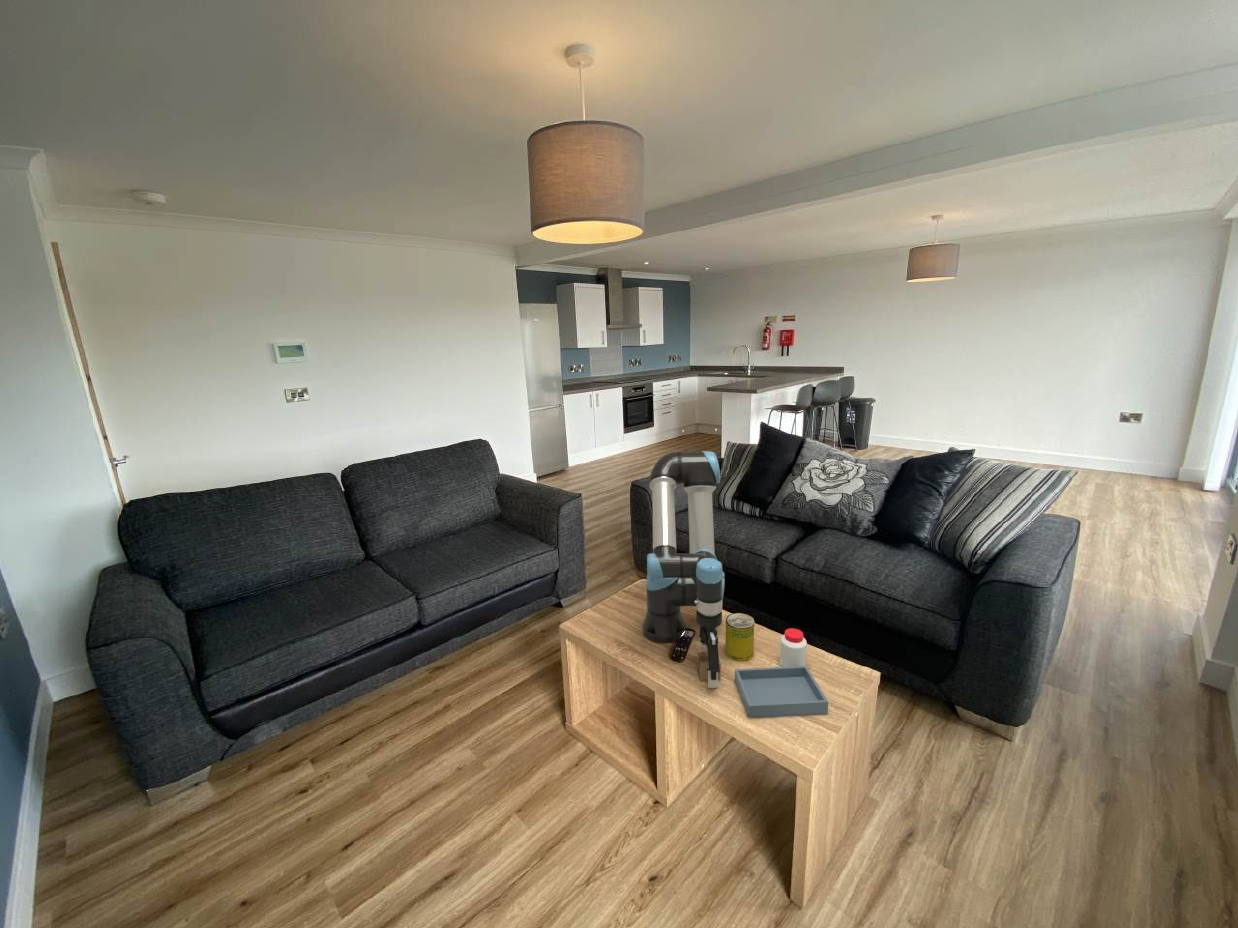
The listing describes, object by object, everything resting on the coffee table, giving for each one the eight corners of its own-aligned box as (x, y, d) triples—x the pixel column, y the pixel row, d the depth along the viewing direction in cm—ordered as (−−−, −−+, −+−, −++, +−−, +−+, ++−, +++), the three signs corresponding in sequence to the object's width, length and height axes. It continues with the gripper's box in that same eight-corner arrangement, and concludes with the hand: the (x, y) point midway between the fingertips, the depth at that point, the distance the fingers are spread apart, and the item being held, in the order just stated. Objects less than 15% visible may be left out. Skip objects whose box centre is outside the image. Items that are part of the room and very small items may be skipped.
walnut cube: (697, 669, 159) (697, 652, 158) (716, 668, 159) (716, 651, 158) (700, 681, 153) (700, 664, 152) (720, 680, 154) (720, 663, 152)
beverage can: (759, 657, 164) (760, 623, 161) (735, 664, 161) (736, 630, 158) (742, 642, 172) (743, 610, 169) (719, 649, 169) (720, 617, 166)
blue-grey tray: (734, 680, 153) (734, 669, 152) (805, 676, 154) (806, 665, 153) (748, 717, 138) (749, 705, 137) (827, 713, 139) (828, 701, 138)
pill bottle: (776, 656, 164) (777, 626, 161) (801, 656, 163) (802, 626, 161) (783, 672, 156) (784, 640, 153) (809, 671, 156) (810, 640, 153)
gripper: (690, 591, 162) (690, 651, 168) (704, 633, 139) (703, 701, 145) (713, 590, 162) (713, 650, 168) (731, 631, 140) (730, 700, 145)
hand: (708, 674), depth 156 cm, fingers open, 11 cm apart
